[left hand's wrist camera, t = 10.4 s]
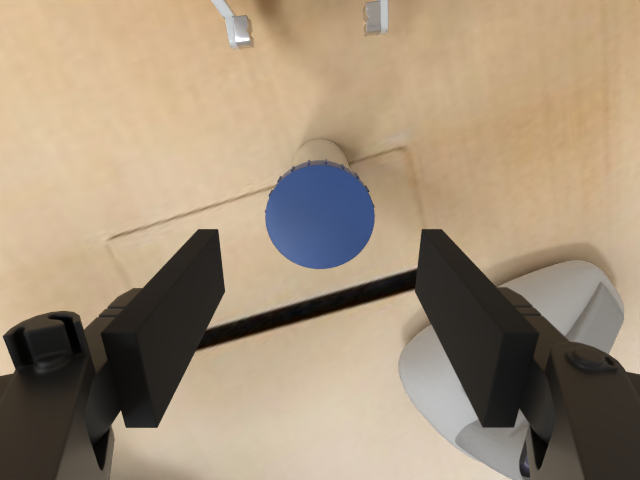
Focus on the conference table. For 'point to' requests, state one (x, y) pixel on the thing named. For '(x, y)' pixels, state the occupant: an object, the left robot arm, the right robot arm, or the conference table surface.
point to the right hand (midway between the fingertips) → (308, 41)
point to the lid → (319, 214)
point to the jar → (320, 153)
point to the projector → (506, 443)
